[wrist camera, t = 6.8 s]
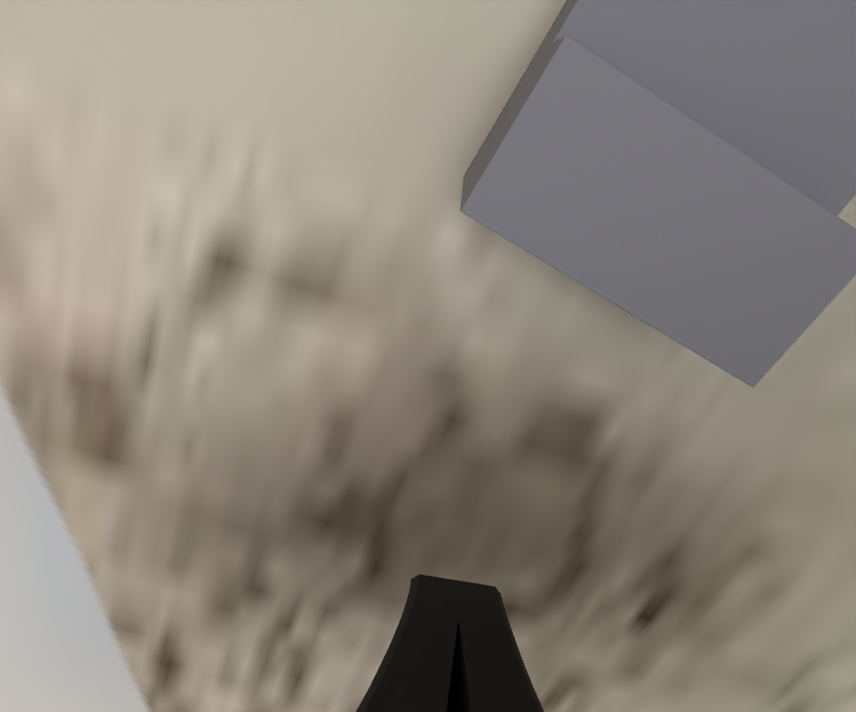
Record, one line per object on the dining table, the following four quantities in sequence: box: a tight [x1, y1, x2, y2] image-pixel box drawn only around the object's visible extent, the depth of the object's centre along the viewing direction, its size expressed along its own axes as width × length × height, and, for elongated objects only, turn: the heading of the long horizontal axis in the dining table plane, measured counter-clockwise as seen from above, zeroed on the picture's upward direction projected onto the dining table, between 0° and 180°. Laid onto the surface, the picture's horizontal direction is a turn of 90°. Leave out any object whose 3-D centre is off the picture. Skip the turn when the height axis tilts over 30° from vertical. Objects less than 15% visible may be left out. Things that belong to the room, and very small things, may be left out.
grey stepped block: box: [460, 0, 856, 387], centre depth 8 cm, size 4×7×4 cm, turn 150°
